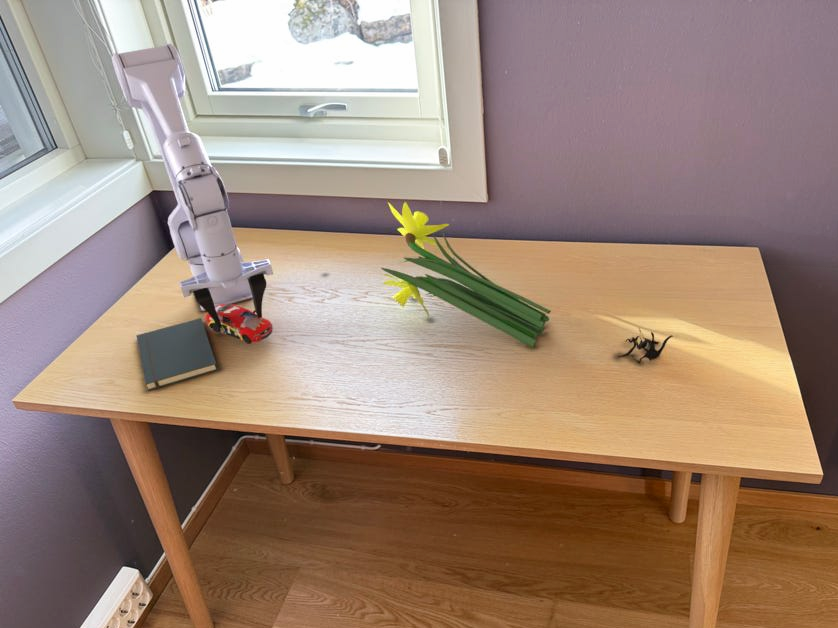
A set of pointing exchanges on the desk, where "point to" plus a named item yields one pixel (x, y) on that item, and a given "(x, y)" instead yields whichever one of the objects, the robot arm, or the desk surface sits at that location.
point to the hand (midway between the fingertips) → (239, 320)
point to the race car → (240, 323)
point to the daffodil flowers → (484, 294)
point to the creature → (651, 352)
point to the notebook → (175, 354)
